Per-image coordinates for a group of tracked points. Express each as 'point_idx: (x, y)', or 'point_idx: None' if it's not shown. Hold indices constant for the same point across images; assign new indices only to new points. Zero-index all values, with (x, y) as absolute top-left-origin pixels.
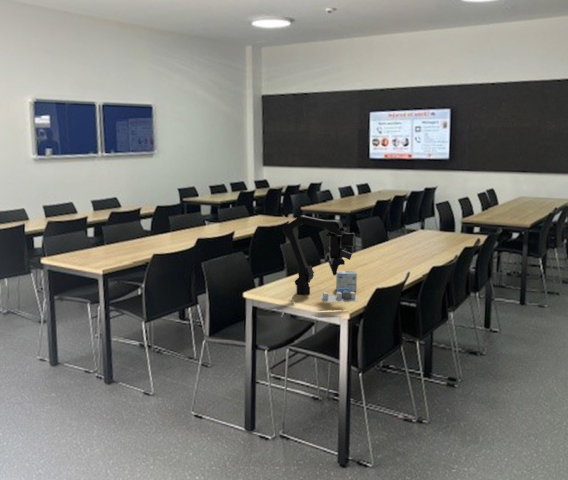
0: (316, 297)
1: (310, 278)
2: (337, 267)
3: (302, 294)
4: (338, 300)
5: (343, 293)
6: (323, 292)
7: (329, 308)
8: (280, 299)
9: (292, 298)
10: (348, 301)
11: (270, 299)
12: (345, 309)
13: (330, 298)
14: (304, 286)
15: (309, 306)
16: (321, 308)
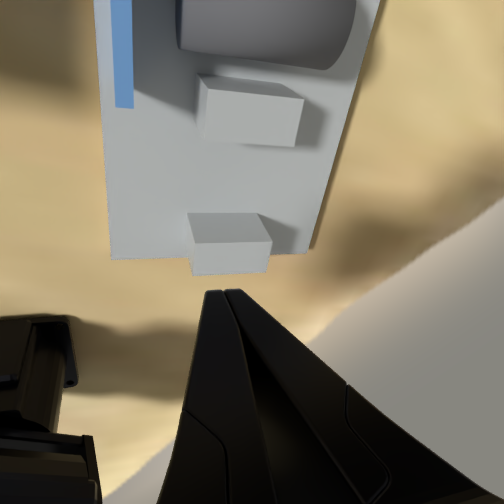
0: (90, 268)
1: (41, 473)
2: (415, 451)
3: (65, 368)
4: (303, 129)
5: (260, 56)
6: (203, 272)
7: (409, 227)
8: (139, 437)
9: (118, 396)
10: (369, 33)
11: (135, 466)
12: (486, 128)
13: (216, 185)
14: (53, 420)
15: (322, 322)
16: (387, 269)
